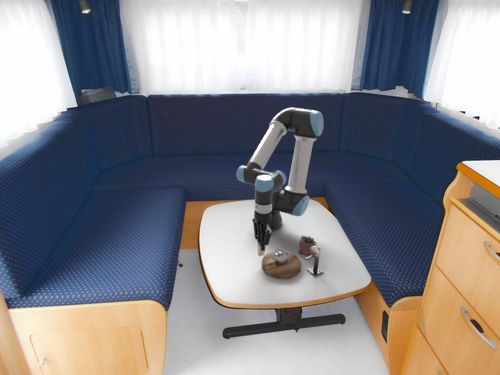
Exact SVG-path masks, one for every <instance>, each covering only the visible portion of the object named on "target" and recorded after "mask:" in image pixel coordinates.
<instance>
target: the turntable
mask: <svg viewBox="0 0 500 375" xmlns="http://www.w3.org/2000/svg"><path fill="white" fill-rule="evenodd" d="M273 251H274V250H273ZM273 251H269V252H267V253H266V254H264V255H263V257H262V259H261V269H262V270H263V272H264V273H265V274H266V275H267V276H269V277H271V278H274V279H281V280H288V279H292V278H294V277H296V276H298V275H299V273H300V272H301V270H302V269H301V268H302V261H301V260H300V258H299V256H298V255H295V254H294V253H292V252H290V251H287V252H288V261H287V264H285V265H282V266H279V265H276V261H275V260H274V259H273V260H272V258H273Z"/></svg>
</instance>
